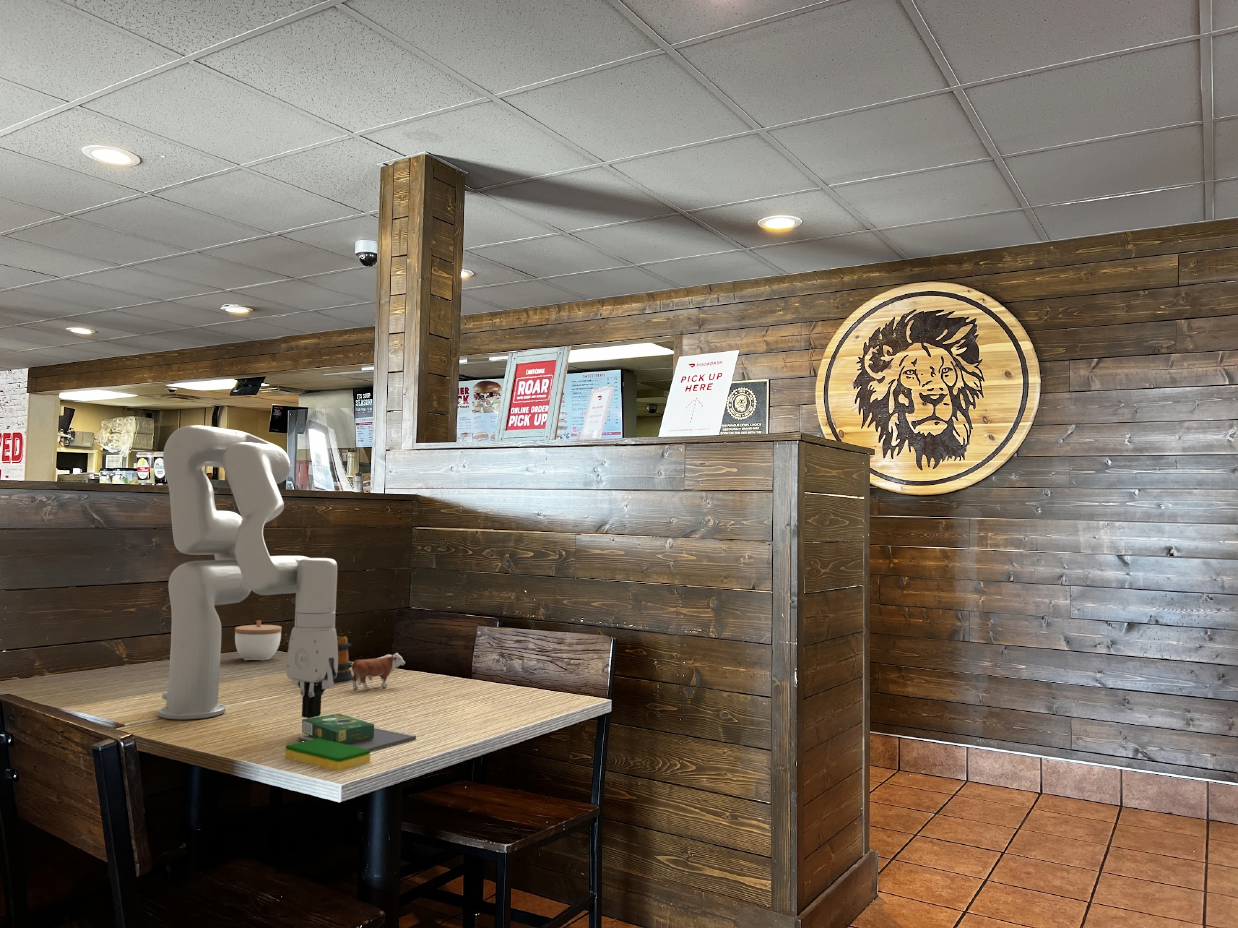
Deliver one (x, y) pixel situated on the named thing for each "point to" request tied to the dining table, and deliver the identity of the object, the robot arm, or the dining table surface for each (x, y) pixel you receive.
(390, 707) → the dining table surface
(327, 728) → the coffee box
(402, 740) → the mat
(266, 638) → the lidded bowl
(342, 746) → the dish sponge
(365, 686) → the bull figurine
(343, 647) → the mug
